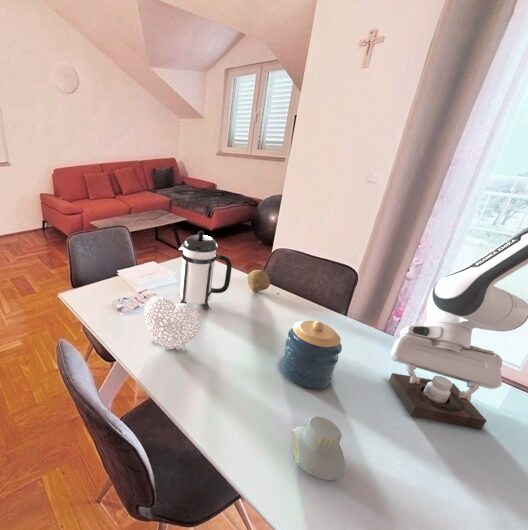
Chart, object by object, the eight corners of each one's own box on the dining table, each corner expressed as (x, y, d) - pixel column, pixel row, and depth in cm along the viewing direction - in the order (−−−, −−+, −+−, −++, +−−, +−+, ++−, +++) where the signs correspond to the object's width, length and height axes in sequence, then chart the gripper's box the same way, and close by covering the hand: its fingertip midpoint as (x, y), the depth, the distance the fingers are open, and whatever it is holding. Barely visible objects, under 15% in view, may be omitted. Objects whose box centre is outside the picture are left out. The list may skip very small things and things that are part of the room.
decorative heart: (201, 347, 101) (207, 301, 94) (190, 367, 93) (195, 319, 86) (151, 330, 109) (153, 287, 102) (137, 347, 101) (137, 302, 94)
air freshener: (343, 492, 61) (358, 458, 57) (297, 480, 63) (308, 447, 59) (327, 442, 71) (339, 410, 67) (287, 433, 73) (296, 402, 69)
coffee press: (193, 316, 118) (201, 241, 105) (168, 297, 130) (172, 228, 118) (227, 304, 125) (238, 233, 113) (200, 288, 138) (207, 222, 126)
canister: (304, 354, 98) (318, 305, 91) (341, 383, 87) (360, 331, 79) (270, 363, 94) (281, 313, 87) (304, 395, 83) (320, 341, 76)
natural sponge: (264, 287, 138) (269, 266, 134) (270, 297, 130) (275, 276, 126) (243, 286, 139) (247, 265, 135) (247, 296, 131) (251, 274, 127)
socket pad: (449, 391, 84) (453, 383, 83) (481, 429, 74) (487, 420, 72) (388, 381, 88) (392, 372, 86) (410, 416, 77) (415, 407, 76)
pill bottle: (440, 401, 81) (452, 378, 78) (444, 413, 78) (457, 389, 75) (418, 394, 83) (429, 371, 80) (421, 405, 80) (433, 382, 77)
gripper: (495, 355, 79) (490, 410, 76) (393, 329, 89) (384, 377, 86) (510, 351, 74) (506, 410, 70) (400, 324, 84) (392, 374, 81)
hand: (438, 391), depth 78 cm, fingers open, 8 cm apart
